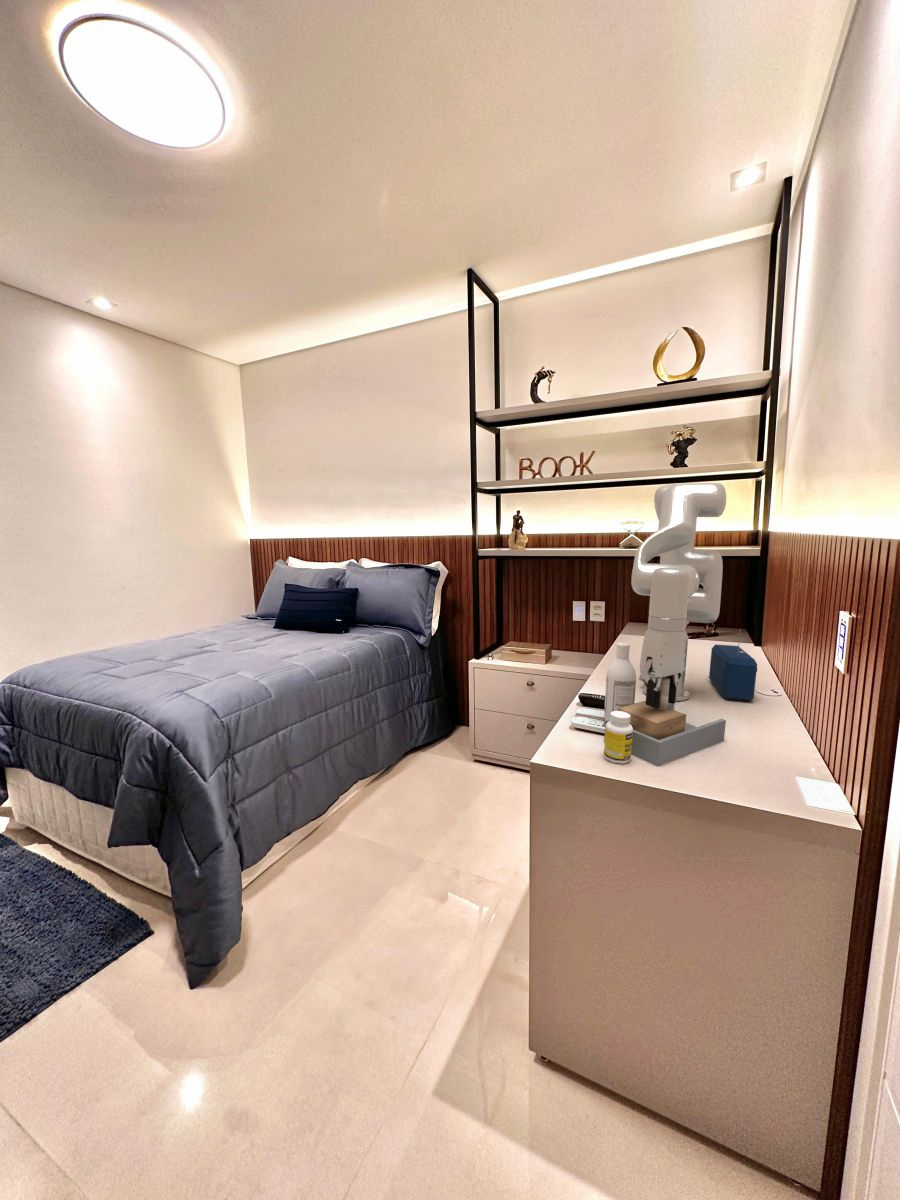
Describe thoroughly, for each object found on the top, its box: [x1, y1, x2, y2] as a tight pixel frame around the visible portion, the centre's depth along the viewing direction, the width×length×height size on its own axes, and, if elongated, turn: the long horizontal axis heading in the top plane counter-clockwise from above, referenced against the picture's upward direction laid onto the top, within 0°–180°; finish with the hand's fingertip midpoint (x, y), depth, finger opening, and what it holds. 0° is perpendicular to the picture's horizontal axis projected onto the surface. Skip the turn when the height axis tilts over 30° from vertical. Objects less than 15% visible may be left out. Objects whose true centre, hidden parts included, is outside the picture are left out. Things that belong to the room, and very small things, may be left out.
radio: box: [708, 628, 758, 702], centre depth 149 cm, size 21×9×20 cm, turn 164°
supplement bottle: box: [603, 711, 633, 764], centre depth 105 cm, size 5×5×10 cm
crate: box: [618, 677, 687, 740], centre depth 111 cm, size 10×10×14 cm
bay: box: [603, 703, 727, 767], centre depth 115 cm, size 14×24×5 cm, turn 122°
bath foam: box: [603, 642, 637, 720], centre depth 124 cm, size 7×7×20 cm
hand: (660, 703), depth 112 cm, fingers open, 4 cm apart
